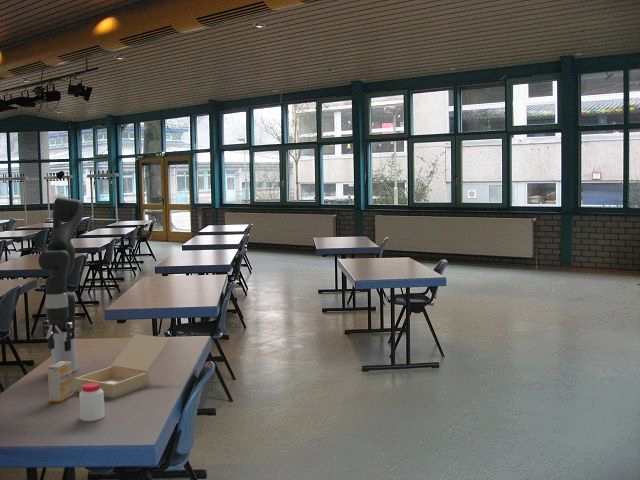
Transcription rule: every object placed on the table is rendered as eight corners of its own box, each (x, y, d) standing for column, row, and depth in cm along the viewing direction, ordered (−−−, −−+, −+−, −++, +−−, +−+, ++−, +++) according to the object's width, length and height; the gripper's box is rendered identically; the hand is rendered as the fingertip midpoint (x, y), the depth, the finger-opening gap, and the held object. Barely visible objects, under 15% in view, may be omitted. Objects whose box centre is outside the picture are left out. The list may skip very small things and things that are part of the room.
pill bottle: (83, 413, 228) (82, 382, 227) (107, 412, 228) (105, 381, 227) (77, 421, 220) (75, 388, 219) (101, 420, 221) (100, 387, 220)
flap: (135, 334, 280) (136, 335, 280) (111, 365, 269) (111, 366, 269) (170, 338, 271) (171, 339, 271) (146, 370, 259) (147, 372, 260)
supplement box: (60, 402, 240) (59, 366, 239) (48, 402, 241) (46, 366, 240) (73, 395, 248) (72, 360, 247) (62, 395, 249) (60, 360, 248)
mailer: (75, 391, 254) (75, 378, 254) (111, 378, 270) (111, 366, 269) (113, 398, 244) (113, 384, 244) (148, 385, 260) (148, 372, 259)
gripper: (79, 305, 242) (81, 349, 243) (52, 302, 249) (54, 345, 250) (62, 308, 235) (64, 354, 237) (35, 306, 242) (37, 350, 243)
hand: (59, 349), depth 243 cm, fingers open, 8 cm apart
